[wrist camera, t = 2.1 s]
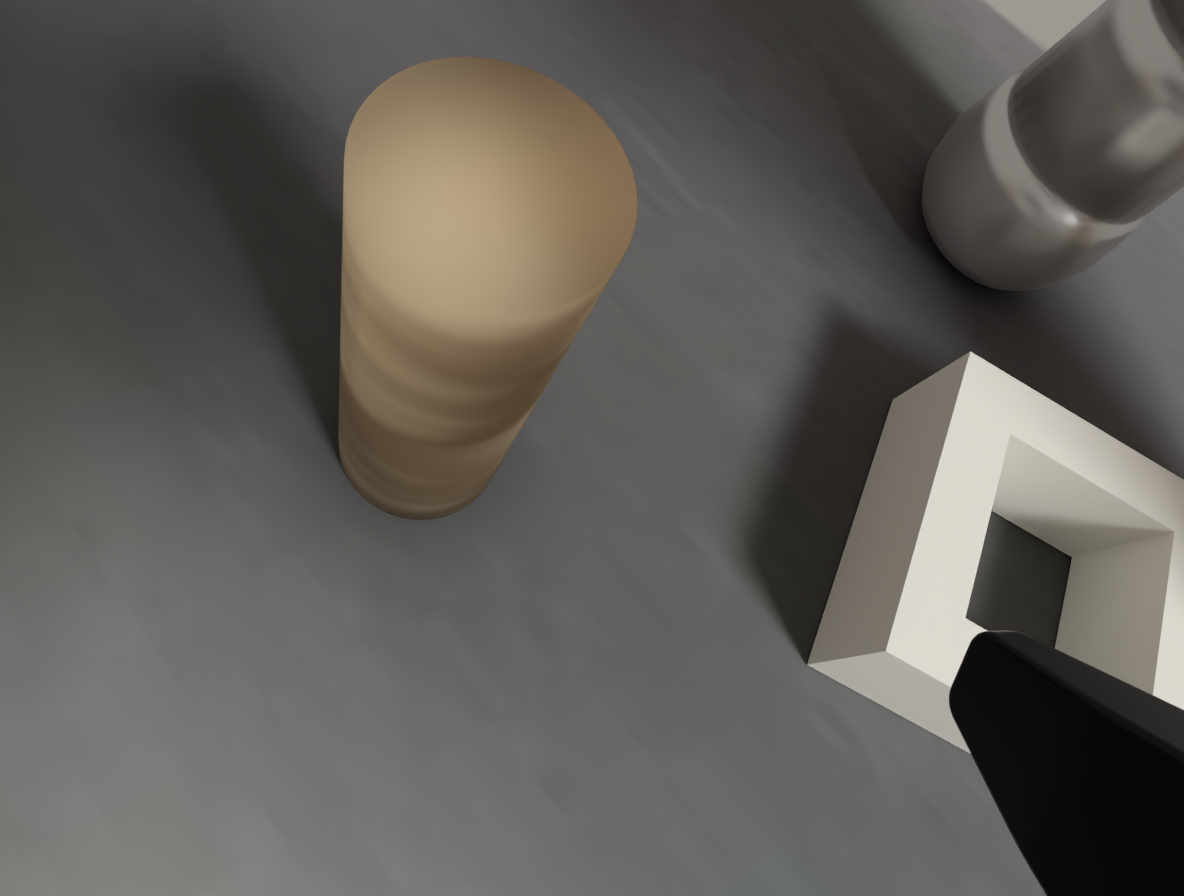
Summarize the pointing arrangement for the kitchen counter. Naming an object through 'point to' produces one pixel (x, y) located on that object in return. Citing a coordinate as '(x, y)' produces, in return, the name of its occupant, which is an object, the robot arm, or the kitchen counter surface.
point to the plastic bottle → (1064, 152)
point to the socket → (957, 531)
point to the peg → (465, 269)
